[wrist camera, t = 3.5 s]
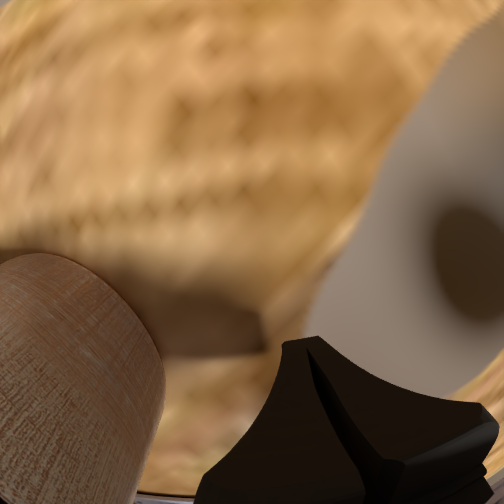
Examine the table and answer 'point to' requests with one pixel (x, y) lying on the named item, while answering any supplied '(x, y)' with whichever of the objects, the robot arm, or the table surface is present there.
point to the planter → (73, 386)
